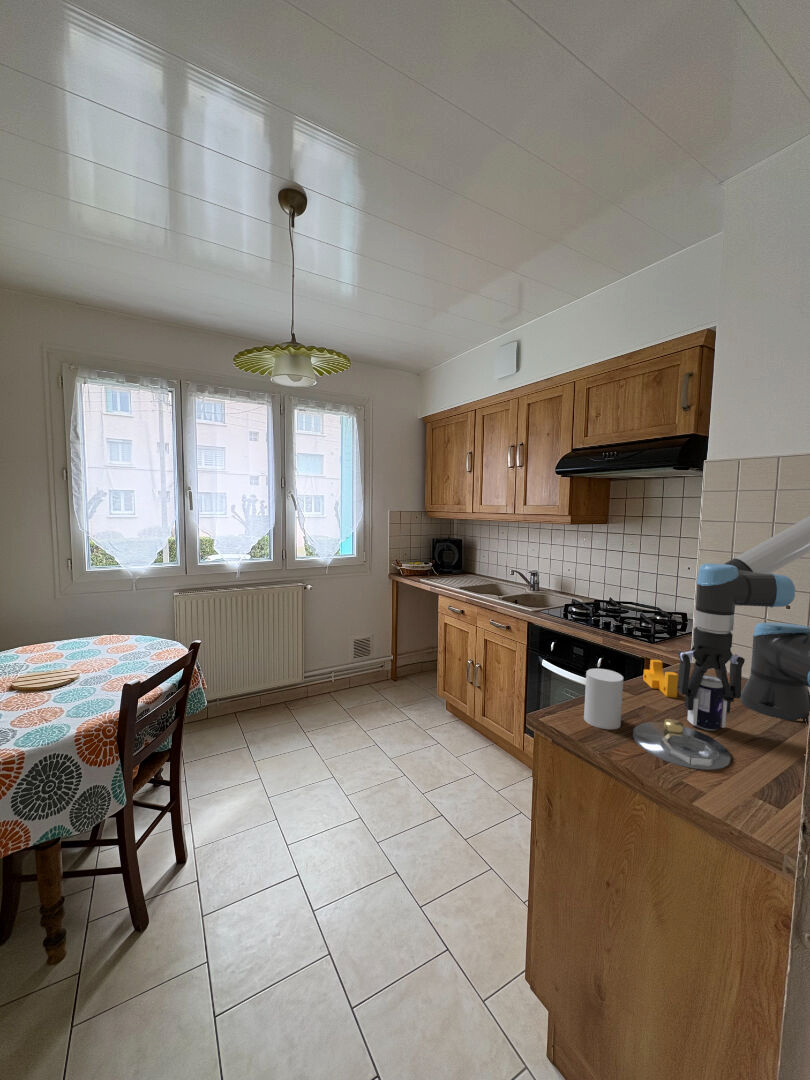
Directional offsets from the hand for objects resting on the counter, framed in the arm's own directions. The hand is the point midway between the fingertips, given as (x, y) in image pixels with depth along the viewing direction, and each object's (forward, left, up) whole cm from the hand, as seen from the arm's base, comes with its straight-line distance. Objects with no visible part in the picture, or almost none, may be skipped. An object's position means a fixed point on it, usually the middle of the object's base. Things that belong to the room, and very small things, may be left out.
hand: (705, 723), depth 105 cm
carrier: (+11, +11, -1) cm, 16 cm away
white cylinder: (+24, +2, -1) cm, 24 cm away
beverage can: (0, 0, -1) cm, 1 cm away
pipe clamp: (+1, -23, -1) cm, 23 cm away
